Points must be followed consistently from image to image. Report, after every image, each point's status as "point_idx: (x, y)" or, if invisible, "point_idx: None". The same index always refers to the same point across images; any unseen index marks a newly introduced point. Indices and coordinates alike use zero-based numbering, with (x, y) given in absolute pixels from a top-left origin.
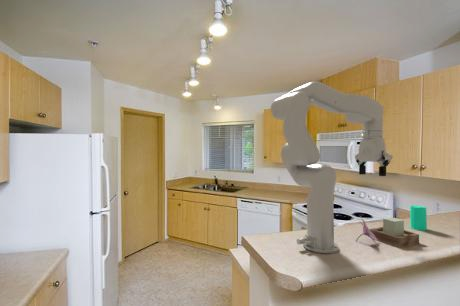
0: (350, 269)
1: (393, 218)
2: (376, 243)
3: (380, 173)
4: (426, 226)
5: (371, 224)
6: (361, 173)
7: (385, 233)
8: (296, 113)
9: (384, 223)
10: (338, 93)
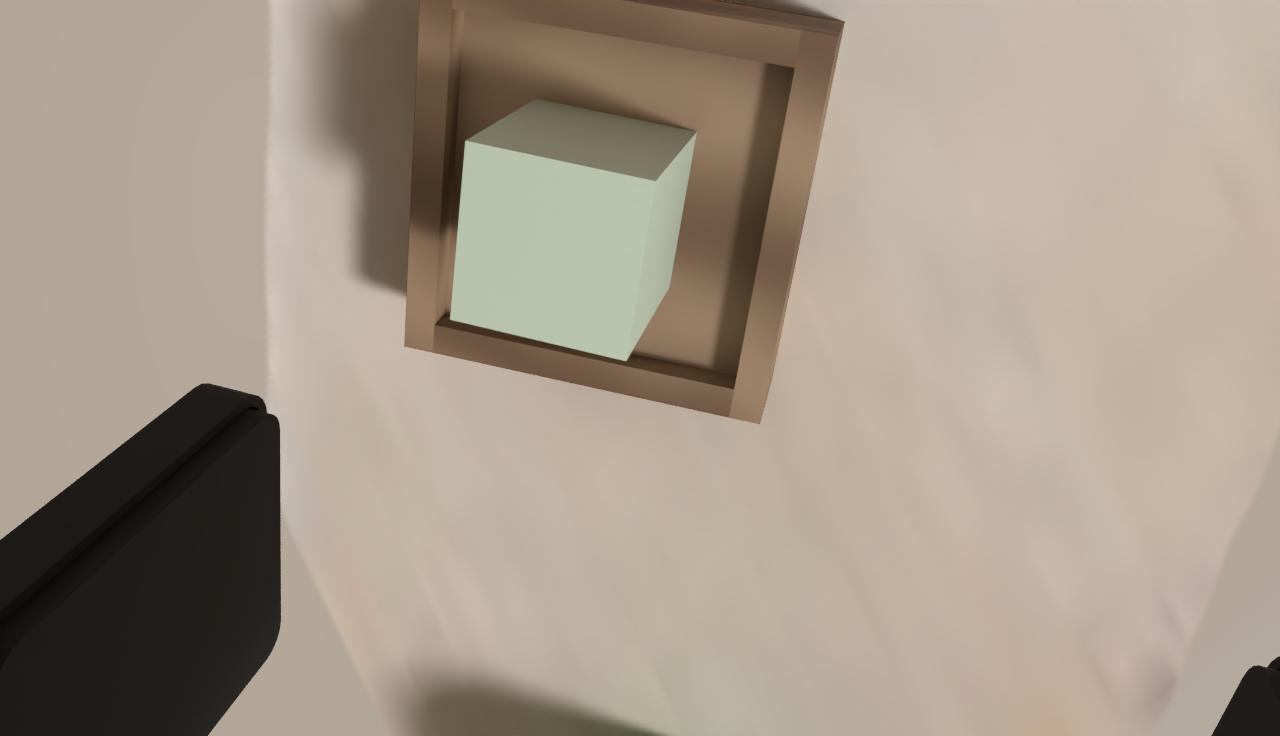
0: None
1: (577, 315)
2: None
3: (151, 429)
4: None
5: (1110, 595)
6: (1241, 713)
7: (603, 27)
8: None
9: (647, 158)
10: None
